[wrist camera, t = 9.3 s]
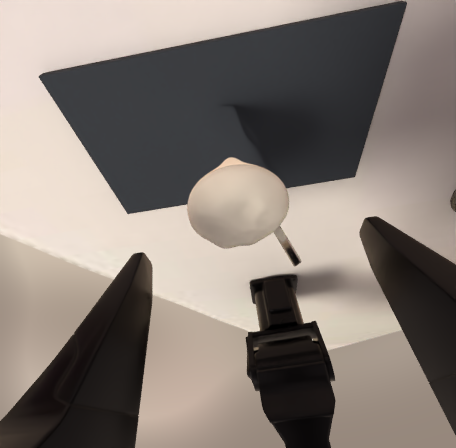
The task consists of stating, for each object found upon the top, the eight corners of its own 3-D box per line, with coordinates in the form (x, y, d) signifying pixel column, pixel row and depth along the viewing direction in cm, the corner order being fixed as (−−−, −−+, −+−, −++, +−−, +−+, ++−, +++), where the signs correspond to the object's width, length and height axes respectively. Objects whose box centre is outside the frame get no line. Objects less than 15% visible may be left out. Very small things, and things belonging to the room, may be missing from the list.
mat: (352, 173, 20) (355, 177, 20) (129, 209, 22) (127, 214, 21) (401, 0, 12) (408, 1, 12) (42, 73, 14) (37, 76, 13)
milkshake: (242, 172, 19) (265, 287, 12) (180, 139, 16) (165, 258, 10) (281, 124, 16) (339, 236, 9) (214, 76, 14) (227, 180, 7)
